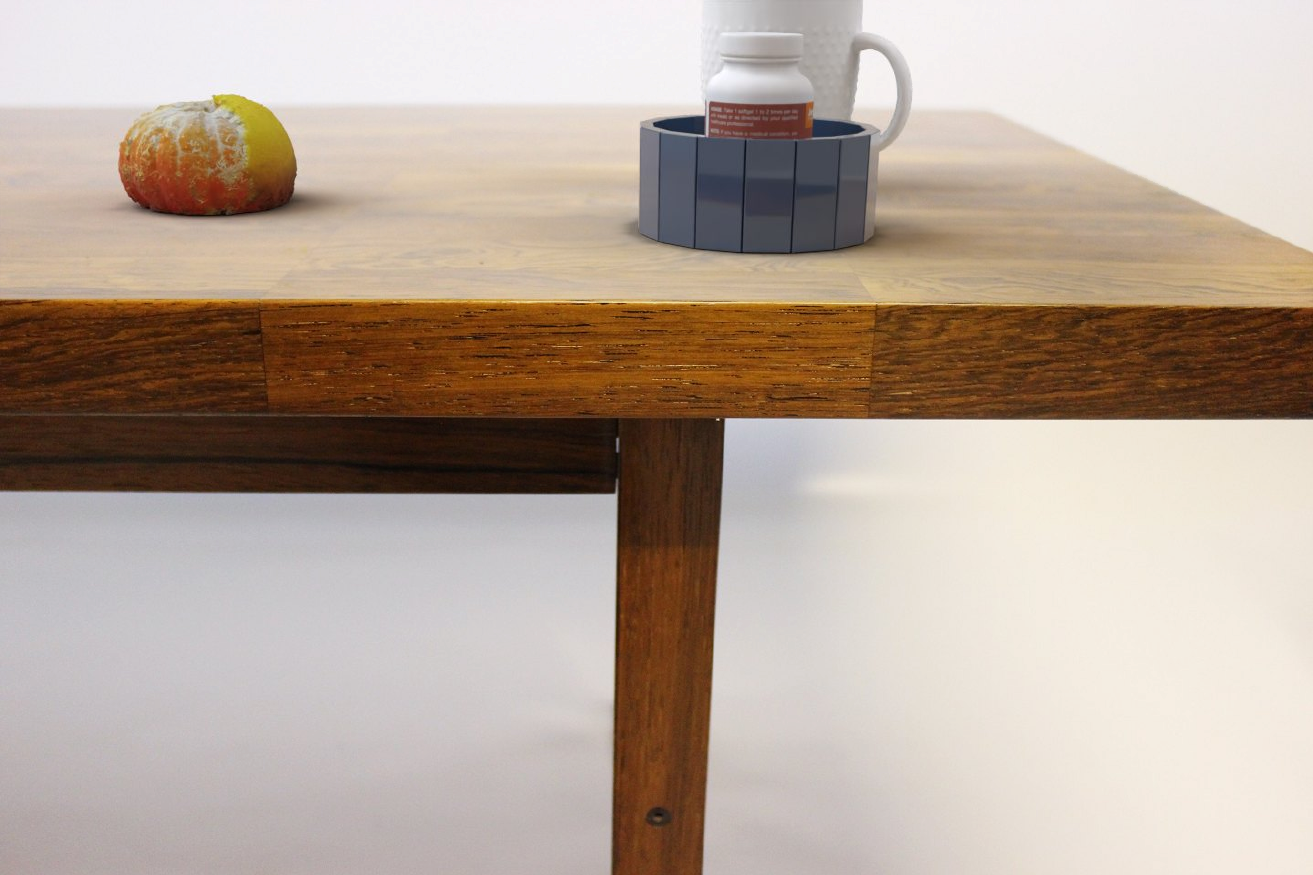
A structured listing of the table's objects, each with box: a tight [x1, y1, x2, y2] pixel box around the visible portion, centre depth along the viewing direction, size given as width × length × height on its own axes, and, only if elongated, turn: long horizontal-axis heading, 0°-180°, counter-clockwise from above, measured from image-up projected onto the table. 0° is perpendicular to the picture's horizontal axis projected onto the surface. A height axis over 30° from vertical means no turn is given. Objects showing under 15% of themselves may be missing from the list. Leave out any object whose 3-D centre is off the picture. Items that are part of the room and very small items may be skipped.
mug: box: [700, 0, 913, 153], centre depth 94 cm, size 15×11×13 cm
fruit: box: [117, 93, 298, 216], centre depth 84 cm, size 11×10×8 cm
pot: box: [637, 113, 882, 254], centre depth 78 cm, size 14×14×6 cm
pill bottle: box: [704, 32, 814, 138], centre depth 77 cm, size 6×6×11 cm
